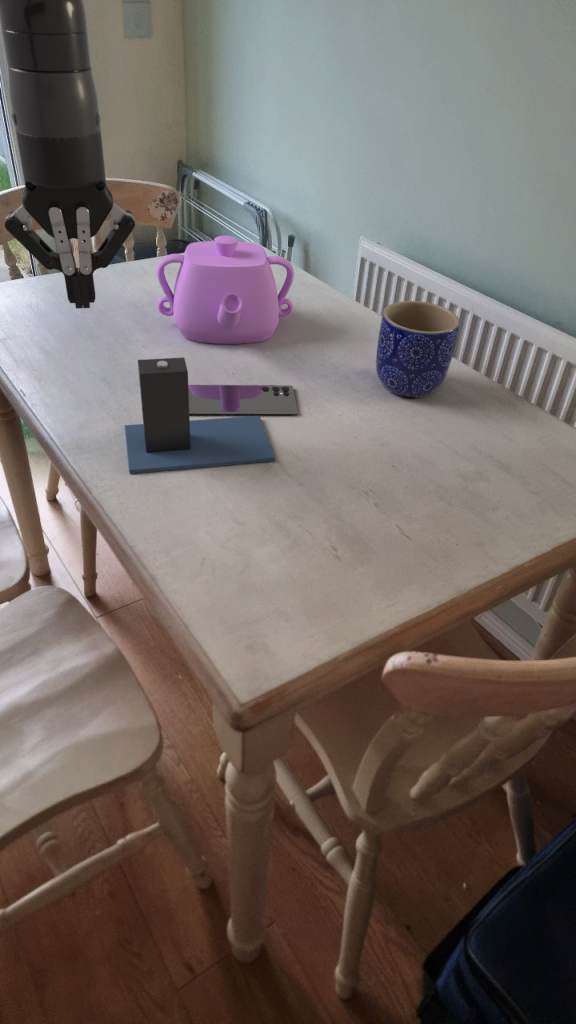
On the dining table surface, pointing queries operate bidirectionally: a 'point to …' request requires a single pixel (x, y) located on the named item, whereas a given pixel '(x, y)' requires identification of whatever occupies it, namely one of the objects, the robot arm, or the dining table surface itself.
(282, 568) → the dining table surface
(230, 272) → the teapot
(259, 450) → the mat
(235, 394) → the smartphone
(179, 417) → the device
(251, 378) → the dining table surface
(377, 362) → the planter
